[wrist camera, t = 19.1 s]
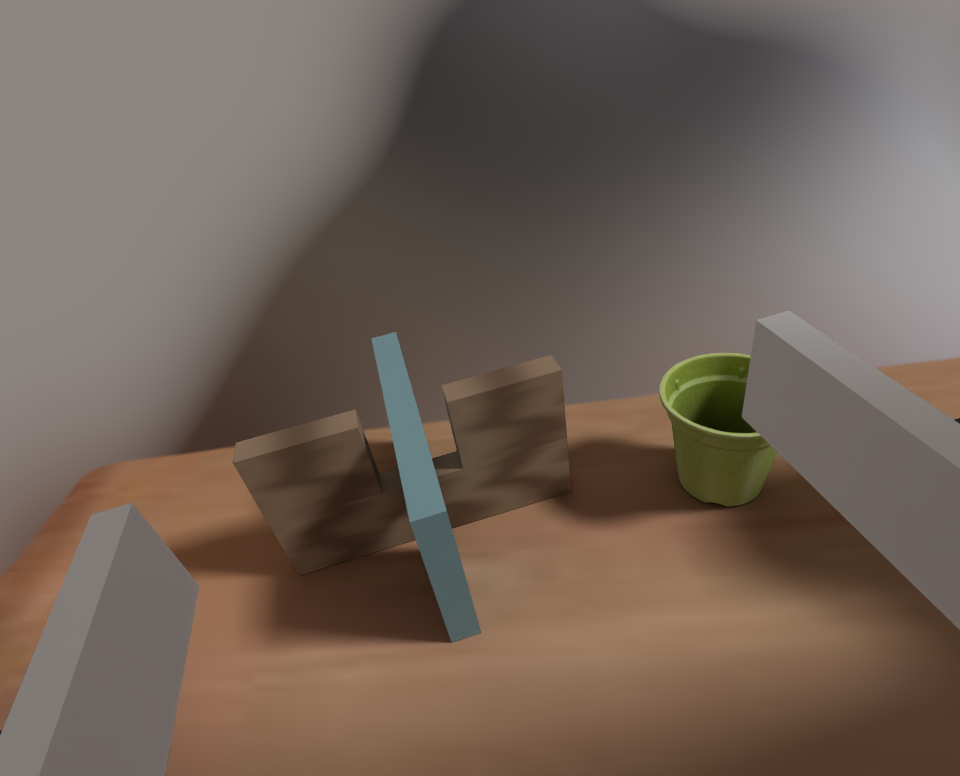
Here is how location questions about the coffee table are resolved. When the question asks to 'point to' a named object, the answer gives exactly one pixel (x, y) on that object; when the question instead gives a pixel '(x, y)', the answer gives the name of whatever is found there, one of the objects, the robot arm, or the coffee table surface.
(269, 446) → the walnut board
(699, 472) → the plant pot
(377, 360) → the slotted plate
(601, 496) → the coffee table surface
